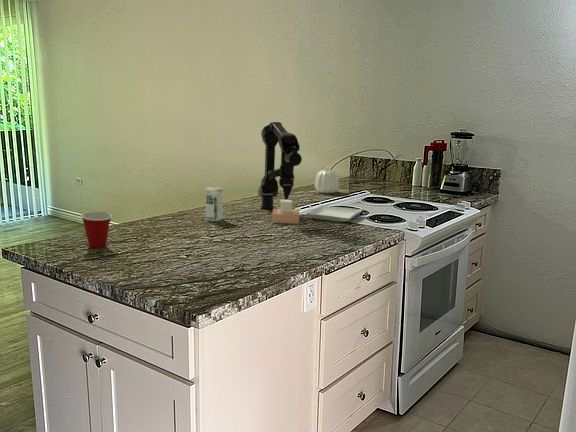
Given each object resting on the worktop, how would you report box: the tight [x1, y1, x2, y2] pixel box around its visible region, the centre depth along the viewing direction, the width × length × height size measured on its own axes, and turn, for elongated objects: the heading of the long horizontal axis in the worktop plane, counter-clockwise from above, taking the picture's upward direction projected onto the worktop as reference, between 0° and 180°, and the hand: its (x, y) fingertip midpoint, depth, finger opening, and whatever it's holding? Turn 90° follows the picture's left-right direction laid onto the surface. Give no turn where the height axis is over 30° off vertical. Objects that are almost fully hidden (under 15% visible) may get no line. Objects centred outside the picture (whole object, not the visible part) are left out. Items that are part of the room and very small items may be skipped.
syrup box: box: [205, 186, 224, 222], centre depth 256 cm, size 6×6×14 cm
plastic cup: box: [80, 211, 113, 249], centre depth 209 cm, size 11×11×12 cm
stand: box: [271, 208, 300, 225], centre depth 260 cm, size 12×12×4 cm
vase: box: [314, 168, 340, 195], centre depth 333 cm, size 14×14×13 cm
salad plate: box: [306, 205, 363, 223], centre depth 269 cm, size 21×21×3 cm
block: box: [279, 199, 293, 213], centre depth 259 cm, size 5×5×5 cm
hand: (286, 197), depth 258 cm, fingers open, 9 cm apart
